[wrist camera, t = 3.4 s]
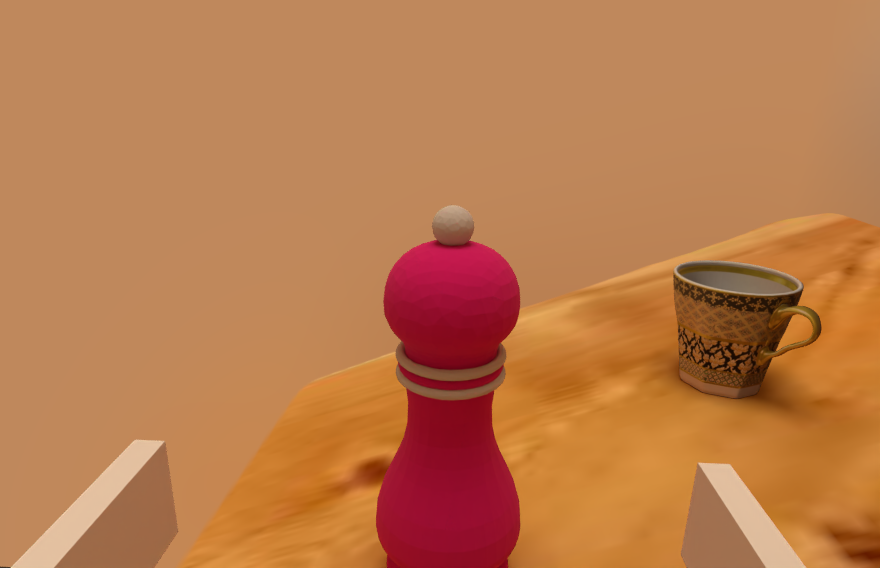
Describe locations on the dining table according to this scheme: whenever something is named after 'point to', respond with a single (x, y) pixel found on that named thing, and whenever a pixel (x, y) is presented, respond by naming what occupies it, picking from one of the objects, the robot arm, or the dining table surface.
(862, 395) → the dining table surface
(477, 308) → the pepper mill
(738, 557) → the robot arm
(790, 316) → the ceramic cup
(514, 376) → the dining table surface
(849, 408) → the dining table surface
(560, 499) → the dining table surface
